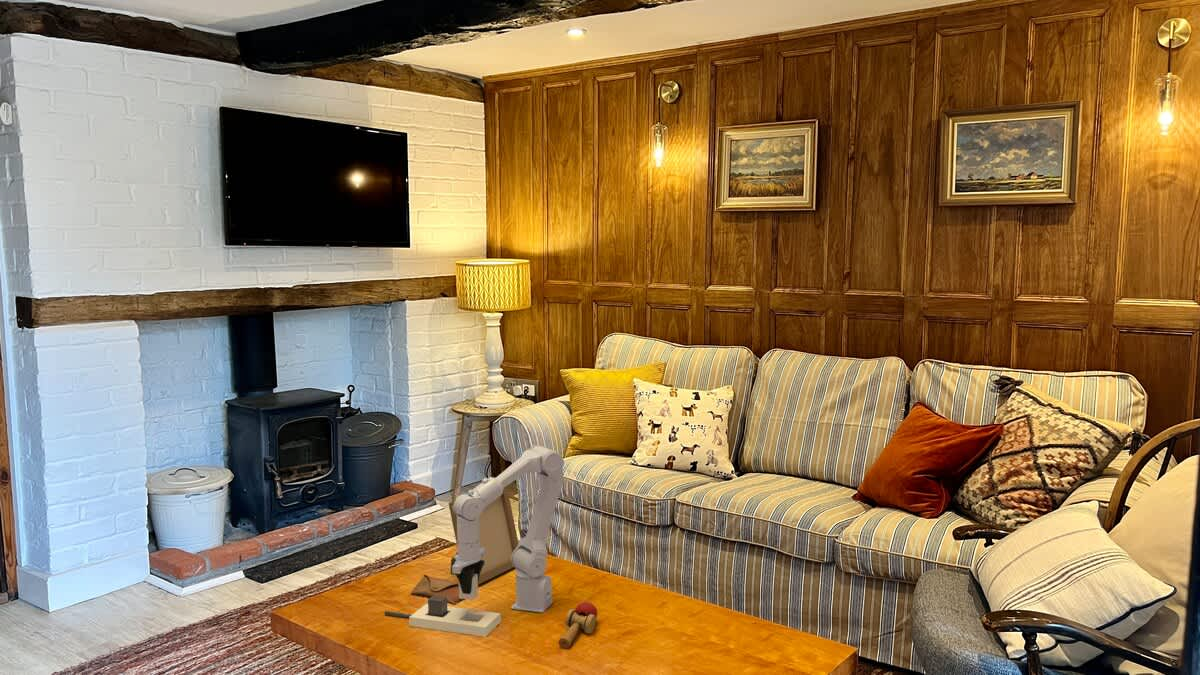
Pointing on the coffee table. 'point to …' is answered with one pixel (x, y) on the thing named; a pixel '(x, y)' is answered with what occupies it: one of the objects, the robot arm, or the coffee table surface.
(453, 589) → the sunglasses case
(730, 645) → the coffee table surface
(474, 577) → the beige plug
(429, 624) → the power strip
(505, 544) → the photo frame
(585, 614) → the kendama
